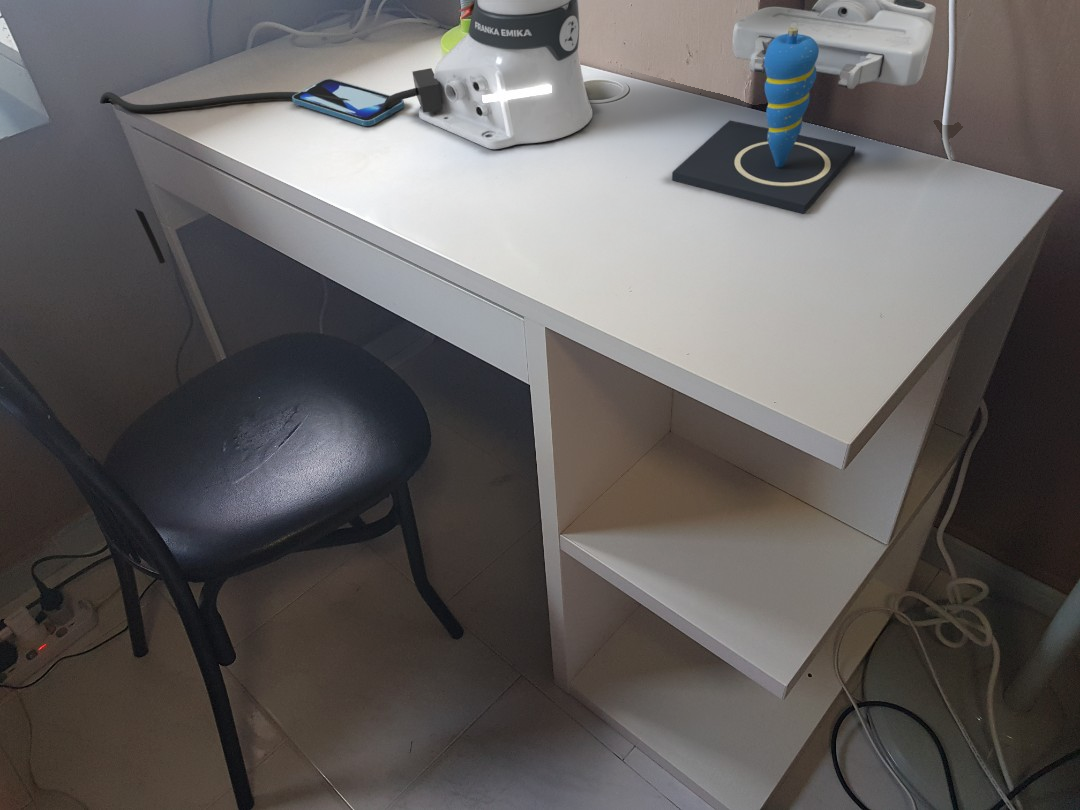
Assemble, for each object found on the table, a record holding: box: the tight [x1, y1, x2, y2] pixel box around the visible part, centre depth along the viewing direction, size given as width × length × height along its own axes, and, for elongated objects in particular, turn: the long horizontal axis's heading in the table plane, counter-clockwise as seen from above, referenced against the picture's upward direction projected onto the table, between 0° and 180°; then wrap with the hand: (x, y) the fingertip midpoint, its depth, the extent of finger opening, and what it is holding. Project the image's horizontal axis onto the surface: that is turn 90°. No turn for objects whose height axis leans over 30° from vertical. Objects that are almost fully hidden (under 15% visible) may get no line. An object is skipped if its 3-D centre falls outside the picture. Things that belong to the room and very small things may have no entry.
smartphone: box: [291, 78, 405, 127], centre depth 112 cm, size 7×1×15 cm
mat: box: [671, 119, 856, 214], centre depth 91 cm, size 15×14×1 cm
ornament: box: [764, 21, 819, 168], centre depth 84 cm, size 5×5×15 cm
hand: (800, 72), depth 85 cm, fingers open, 8 cm apart
